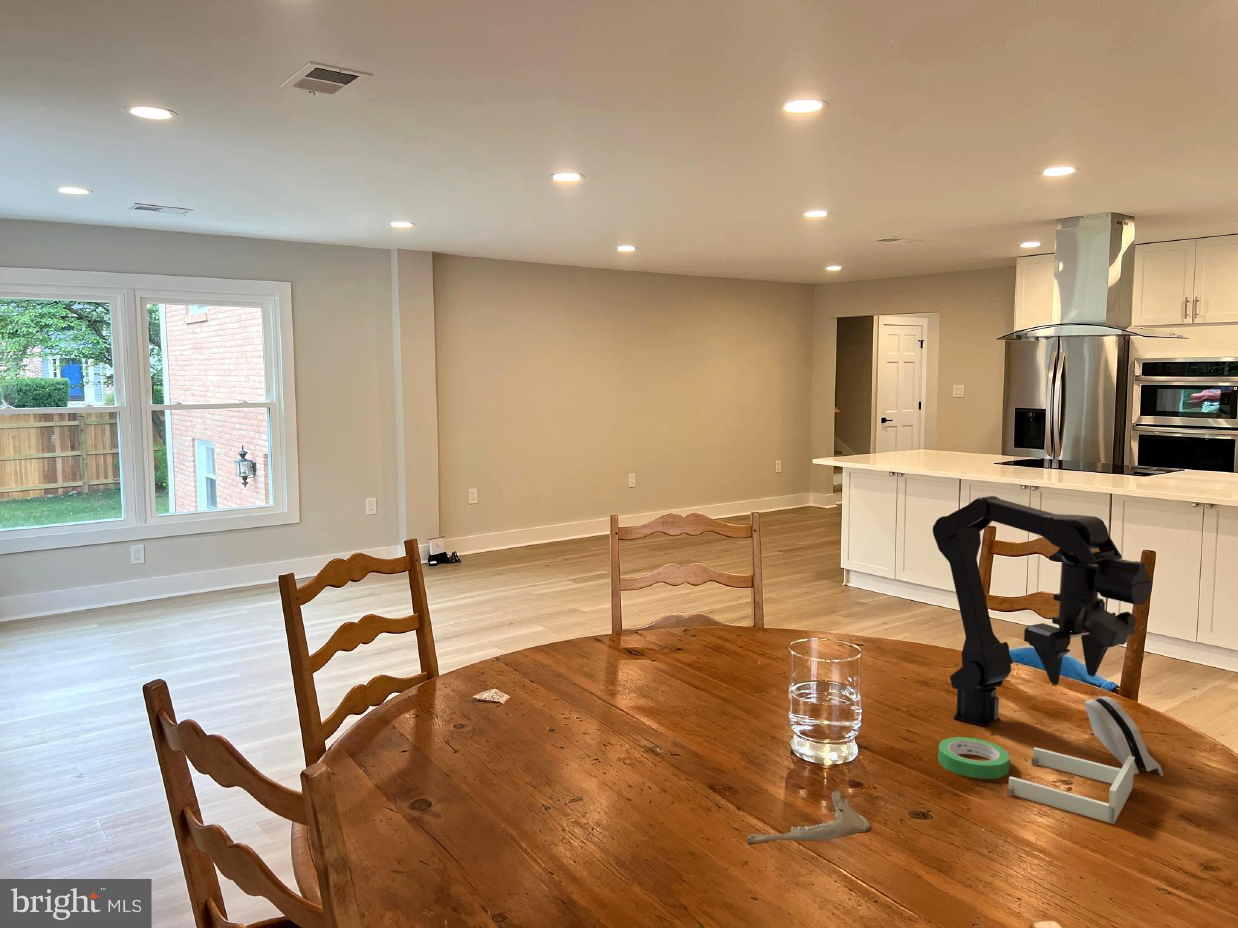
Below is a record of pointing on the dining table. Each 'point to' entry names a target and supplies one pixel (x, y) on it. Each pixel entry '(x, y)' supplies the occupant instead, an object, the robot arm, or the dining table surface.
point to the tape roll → (973, 768)
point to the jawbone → (823, 826)
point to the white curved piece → (1119, 733)
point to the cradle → (1073, 802)
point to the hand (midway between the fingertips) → (1072, 679)
